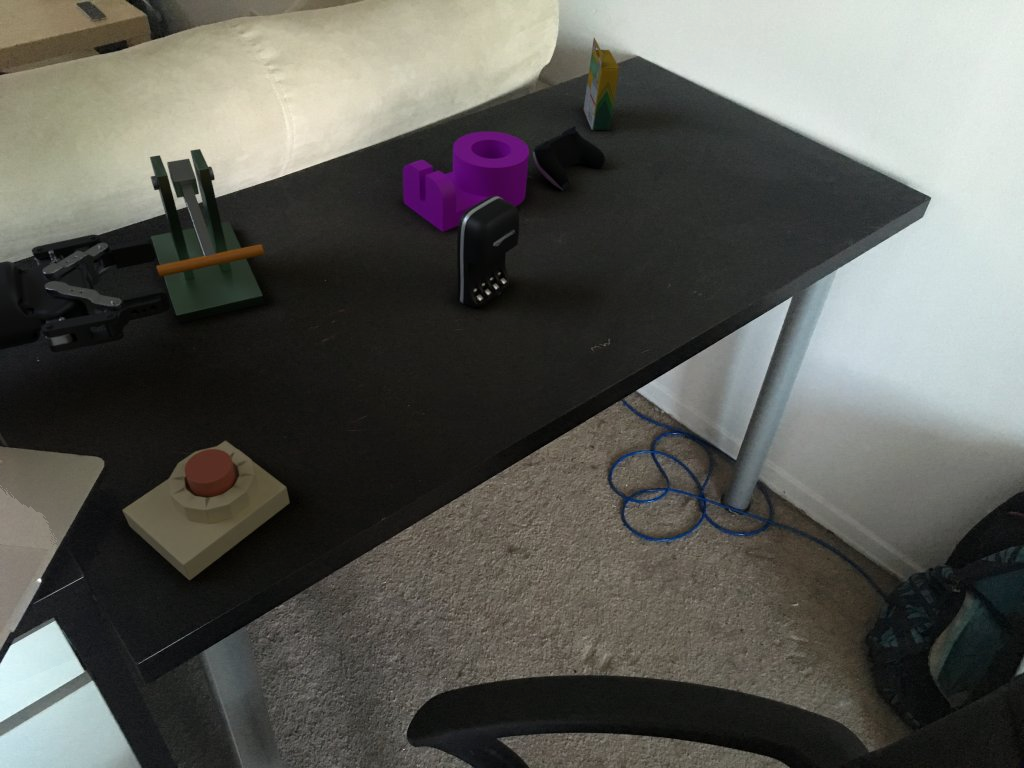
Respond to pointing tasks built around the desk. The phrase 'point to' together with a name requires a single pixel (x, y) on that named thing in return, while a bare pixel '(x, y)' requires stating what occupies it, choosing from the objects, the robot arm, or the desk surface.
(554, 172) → the gaming controller
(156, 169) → the switch bracket
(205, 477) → the stop button
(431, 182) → the purple bearing bracket
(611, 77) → the crayon box
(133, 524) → the stop housing
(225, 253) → the lever
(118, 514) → the desk surface
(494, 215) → the battery charger
